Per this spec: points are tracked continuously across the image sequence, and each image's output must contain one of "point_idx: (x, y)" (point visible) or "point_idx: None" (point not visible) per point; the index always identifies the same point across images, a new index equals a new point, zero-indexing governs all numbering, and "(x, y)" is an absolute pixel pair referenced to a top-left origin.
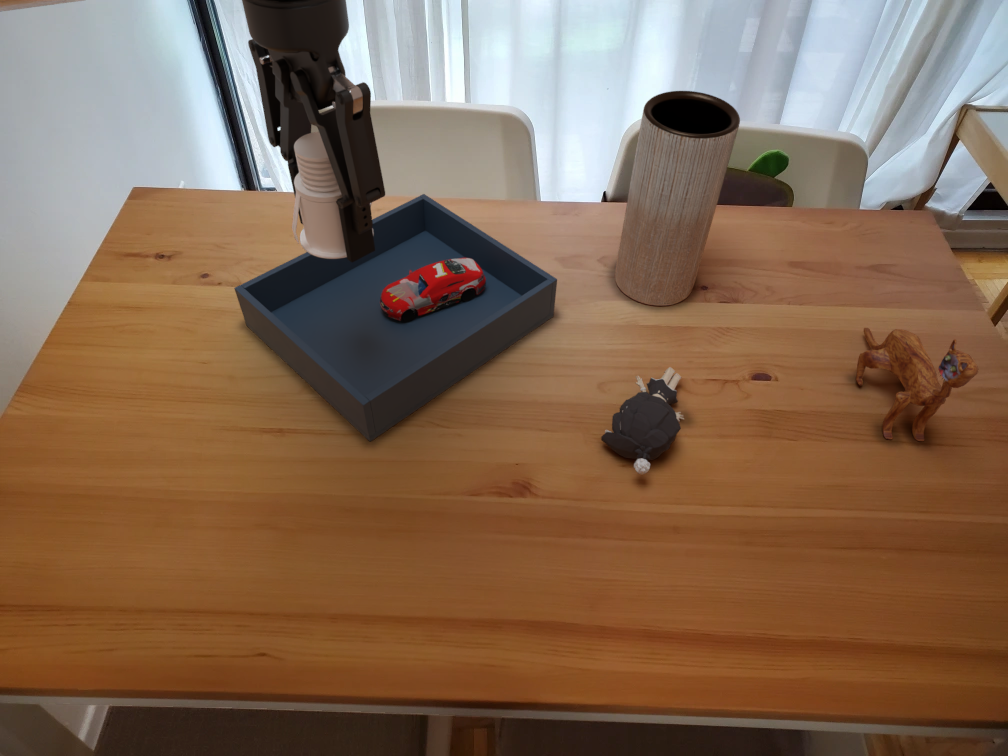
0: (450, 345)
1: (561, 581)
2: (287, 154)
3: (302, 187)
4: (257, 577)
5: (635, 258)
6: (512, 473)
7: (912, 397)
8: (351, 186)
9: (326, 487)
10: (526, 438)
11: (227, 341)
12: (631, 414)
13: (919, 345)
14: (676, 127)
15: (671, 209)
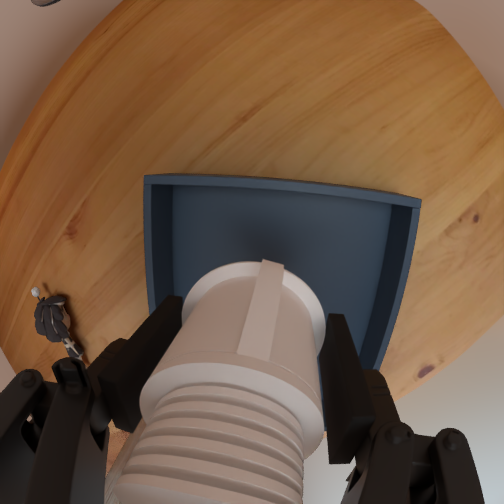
0: (150, 298)
1: (29, 198)
2: (378, 445)
3: (241, 381)
4: (142, 42)
5: None
6: (81, 237)
7: None
8: (21, 405)
9: (160, 115)
10: (96, 269)
11: (393, 163)
12: (45, 319)
13: (30, 415)
14: None
15: (112, 475)
